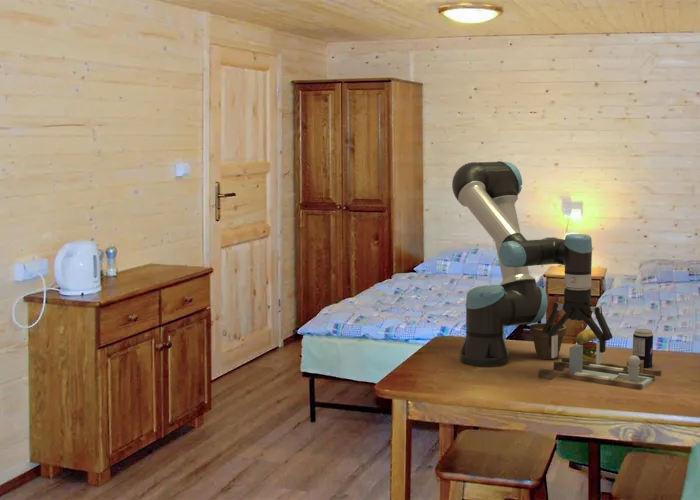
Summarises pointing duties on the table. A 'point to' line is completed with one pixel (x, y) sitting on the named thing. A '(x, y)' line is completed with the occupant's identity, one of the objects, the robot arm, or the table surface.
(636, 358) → the chess piece
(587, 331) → the hamburger
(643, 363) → the walnut cube
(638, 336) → the beverage can
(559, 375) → the lane rails
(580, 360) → the pale grey slab
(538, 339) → the flower pot
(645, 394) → the table surface
